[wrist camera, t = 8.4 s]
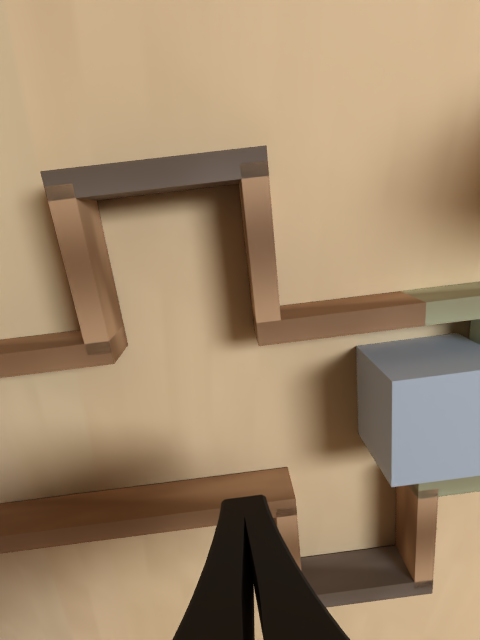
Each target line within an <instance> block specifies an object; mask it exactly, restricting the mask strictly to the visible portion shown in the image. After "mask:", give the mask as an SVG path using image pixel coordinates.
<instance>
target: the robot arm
mask: <svg viewBox="0 0 480 640" xmlns="http://www.w3.org/2000/svg"><path fill="white" fill-rule="evenodd" d="M254 589H255V594H256V600H257V605H258V611H259V617H260V622H261V628H262V633H263V639H264V640H350V639H349V638H348V636H347V635H346V634H345V633H344V631H343V630H342V629H341V628H340V626H339V625H338V624H337V622H336V621H335V620H334V618H333V617H332V616H331V614H330V613H329V612H328V610H327V609H326V607H325V606H324V605H323V603H322V602H321V600H320V599H319V597H318V596H317V595H316V593H315V592H314V590H313V589H312V587H311V586H310V584H309V582H308V581H307V579H306V578H305V576H304V574H303V573H302V571H301V570H300V568H299V566H298V565H297V563H296V561H295V560H294V558H293V556H292V554H291V553H290V551H289V549H288V547H287V545H286V543H285V541H284V540H283V538H282V536H281V534H280V532H279V530H278V528H277V525H276V523H275V521H274V519H273V516H272V514H271V511H270V509H269V506H268V503H267V499H266V497H265V496H264V495H262V494H261V495H254V496H246V497H239V498H231V499H224V500H223V501H222V503H221V509H220V514H219V519H218V523H217V527H216V531H215V534H214V538H213V541H212V544H211V547H210V550H209V554H208V557H207V560H206V563H205V565H204V568H203V571H202V573H201V576H200V579H199V581H198V584H197V586H196V589H195V591H194V594H193V596H192V599H191V601H190V603H189V606H188V608H187V610H186V612H185V615H184V617H183V619H182V621H181V623H180V625H179V627H178V630H177V632H176V634H175V636H174V638H173V640H255V639H254Z"/></svg>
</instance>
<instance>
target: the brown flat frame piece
mask: <svg viewBox="0 0 480 640" xmlns="http://www.w3.org/2000/svg"><path fill="white" fill-rule="evenodd" d="M40 172H41V176H42V180H43V184H44V188H45V192H46V196H47V200H48V204H49V207H50V211H51V215H52V219H53V223H54V227H55V231H56V235H57V239H58V243H59V247H60V251H61V254H62V258H63V262H64V266H65V270H66V274H67V278H68V282H69V286H70V290H71V294H72V297H73V301H74V305H75V309H76V313H77V317H78V321H79V325H80V329H81V330H77V331H69V332H60V333H52V334H44V335H36V336H27V337H19V338H11V339H3V340H0V378H2V377H10V376H18V375H26V374H35V373H43V372H51V371H59V370H67V369H75V368H83V367H92V366H100V365H108V364H115V362H116V361H117V359H118V358H119V357H120V355H121V354H122V353H123V351H124V350H125V348H126V347H127V346H128V343H127V338H126V333H125V329H124V324H123V320H122V315H121V310H120V306H119V301H118V297H117V292H116V287H115V283H114V278H113V274H112V269H111V265H110V260H109V255H108V251H107V246H106V242H105V237H104V232H103V228H102V223H101V219H100V214H99V209H98V205H97V200H105V199H113V198H122V197H131V196H139V195H148V194H156V193H165V192H174V191H182V190H191V189H199V188H208V187H217V186H225V185H234V184H239V191H240V200H241V210H242V219H243V228H244V238H245V247H246V257H247V266H248V276H249V285H250V294H251V304H252V313H253V323H254V331H255V334H256V338H257V341H258V345H259V346H263V345H271V344H279V343H287V342H296V341H304V340H312V339H320V338H328V337H336V336H345V335H353V334H361V333H369V332H377V331H385V330H393V329H402V328H410V327H418V326H426V325H434V324H442V323H451V322H459V321H467V320H471V324H470V336H469V339H470V340H472V341H474V342H476V343H478V344H479V345H480V282H473V283H465V284H457V285H448V286H440V287H432V288H424V289H415V290H407V291H399V292H391V293H382V294H374V295H366V296H358V297H349V298H341V299H333V300H325V301H316V302H308V303H300V304H292V305H283V306H280V304H279V292H278V280H277V268H276V256H275V244H274V232H273V219H272V207H271V195H270V183H269V171H268V159H267V147H266V146H258V147H249V148H240V149H232V150H223V151H214V152H205V153H197V154H188V155H179V156H171V157H162V158H153V159H144V160H136V161H127V162H118V163H110V164H101V165H92V166H84V167H75V168H66V169H57V170H49V171H40ZM479 491H480V476H473V477H465V478H458V479H450V480H443V481H435V482H427V483H420V484H412V485H405V486H397V491H396V543H395V546H387V547H379V548H372V549H364V550H357V551H349V552H341V553H334V554H326V555H318V556H311V557H303V558H300V547H299V535H298V522H297V510H296V498H295V495H294V491H293V487H292V483H291V479H290V475H289V471H288V467H285V468H278V469H270V470H262V471H254V472H246V473H238V474H230V475H223V476H215V477H207V478H199V479H191V480H183V481H175V482H168V483H160V484H152V485H144V486H136V487H128V488H121V489H113V490H105V491H97V492H89V493H81V494H73V495H66V496H58V497H50V498H42V499H34V500H26V501H19V502H11V503H3V504H0V553H7V552H15V551H23V550H30V549H38V548H46V547H53V546H61V545H69V544H77V543H84V542H92V541H100V540H108V539H115V538H123V537H131V536H139V535H146V534H154V533H162V532H169V531H177V530H185V529H193V528H200V527H208V526H216V525H217V523H218V519H219V514H220V509H221V503H222V501H223V500H224V499H231V498H239V497H246V496H254V495H261V494H262V495H264V496H265V497H266V499H267V503H268V506H269V509H270V511H271V514H272V516H273V518H274V521H275V523H276V525H277V528H278V530H279V532H280V534H281V536H282V538H283V540H284V541H285V543H286V545H287V547H288V549H289V551H290V553H291V554H292V556H293V558H294V560H295V561H296V563H297V565H298V566H299V568H300V570H301V571H302V573H303V574H304V576H305V578H306V579H307V581H308V582H309V584H310V586H311V587H312V589H313V590H314V592H315V593H316V595H317V596H318V597H319V599H320V600H321V602H322V603H323V605H324V606H325V607H333V606H341V605H348V604H356V603H363V602H371V601H378V600H386V599H393V598H401V597H408V596H416V595H423V594H431V593H432V589H433V573H434V557H435V540H436V524H437V508H438V497H440V496H448V495H456V494H463V493H471V492H479Z"/></svg>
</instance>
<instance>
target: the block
mask: <svg viewBox="0 0 480 640" xmlns="http://www.w3.org/2000/svg"><path fill="white" fill-rule="evenodd" d="M356 359H357V400H358V434H359V436H360V437H361V439H362V440H363V442H364V444H365V445H366V447H367V448H368V450H369V452H370V453H371V455H372V457H373V458H374V460H375V461H376V463H377V465H378V466H379V468H380V470H381V471H382V473H383V474H384V476H385V478H386V479H387V481H388V482H389V484H390V486H391V487H397V486H405V485H412V484H420V483H427V482H435V481H443V480H450V479H458V478H465V477H473V476H480V345H479V344H478V343H476V342H474V341H472V340H470V339H468V338H466V337H464V336H462V335H460V334H458V333H453V334H445V335H437V336H430V337H422V338H414V339H406V340H398V341H391V342H383V343H375V344H367V345H359V346H356Z"/></svg>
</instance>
